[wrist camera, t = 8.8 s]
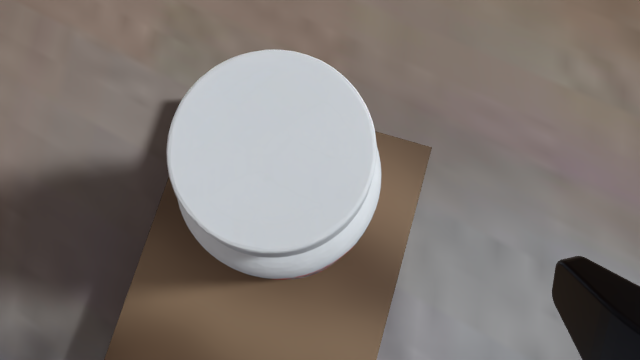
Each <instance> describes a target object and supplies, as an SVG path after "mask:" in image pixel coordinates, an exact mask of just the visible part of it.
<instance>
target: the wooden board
mask: <svg viewBox="0 0 640 360" xmlns="http://www.w3.org/2000/svg"><path fill="white" fill-rule="evenodd" d="M375 135H376V143H377V148H378V152H379V157H380V162H381V189H380V195H379V199H378V203H377V206H376V209H375V212H374V214H373V217H372V219H371V221H370V224H369V225H368V227H367V229H366V230H365V232H364V234H363V235H362V237H361V238H360V240H359V241H358V242H357V243H356V244H355V246H354V247H353V248H352V249H351V250H350V251H348V252H347V253H346V254H345V255H343V256H342V257H341V258H340V259H339V260H337V261H336V262H335V263H333V264H332V265H331V266H329V267H328V268H327V269H325V270H323V271H321V272H319V273H317V274H314V275H312V276H308V277H304V278H299V279H278V280H276V279H266V278H260V277H255V276H250V275H248V274H245V273H242V272H239V271H237V270H235V269H232V268H230V267H229V266H227V265H225V264H224V263H222V262H221V261H219V260H218V259H216V258H215V257H214V256H212V255H211V254H210V253H209V252H208V251H207V250H206V249H205V248H203V246H202V245H201V244H200V243H199V242H198V241H197V240H196V238H195V237H194V235H193V234H192V233H191V231H190V230H189V228H188V226H187V224H186V222H185V220H184V218H183V216H182V213H181V210H180V207H179V204H178V200H177V197H176V195H175V192H174V190H173V187H172V184H171V181H170V177H169V178H168V180H167V183H166V186H165V189H164V192H163V195H162V197H161V200H160V203H159V206H158V209H157V212H156V214H155V217H154V220H153V223H152V226H151V229H150V231H149V234H148V237H147V240H146V243H145V246H144V248H143V251H142V254H141V257H140V260H139V263H138V265H137V268H136V271H135V274H134V277H133V280H132V282H131V285H130V288H129V291H128V294H127V297H126V299H125V302H124V305H123V308H122V311H121V314H120V316H119V319H118V322H117V325H116V328H115V331H114V333H113V336H112V339H111V342H110V345H109V348H108V350H107V353H106V356H105V359H104V360H376V359H377V355H378V351H379V347H380V343H381V340H382V336H383V332H384V328H385V324H386V321H387V317H388V313H389V309H390V305H391V301H392V298H393V294H394V290H395V286H396V282H397V278H398V275H399V271H400V267H401V263H402V259H403V256H404V252H405V248H406V244H407V240H408V236H409V233H410V229H411V225H412V221H413V217H414V214H415V210H416V206H417V202H418V198H419V194H420V191H421V187H422V183H423V179H424V175H425V171H426V168H427V164H428V160H429V156H430V152H431V149H432V147H428V146H425V145H421V144H418V143H414V142H411V141H407V140H404V139H400V138H397V137H393V136H390V135H386V134H383V133H379V132H376V131H375Z"/></svg>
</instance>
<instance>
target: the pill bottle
mask: <svg viewBox="0 0 640 360" xmlns="http://www.w3.org/2000/svg"><path fill="white" fill-rule="evenodd" d="M166 152H167V166H168V173H169V177H170V181H171V184H172V187H173V190H174V192H175V195H176V197H177V200H178V204H179V207H180V210H181V213H182V216H183V218H184V220H185V222H186V224H187V226H188V228H189V230H190V231H191V233H192V234H193V235H194V237H195V238H196V240H197V241H198V242H199V243H200V244H201V245H202V246H203V248H205V249H206V250H207V251H208V252H209V253H210V254H211V255H212V256H214V257H215V258H216V259H218V260H219V261H221V262H222V263H224V264H225V265H227V266H229V267H230V268H232V269H235V270H237V271H239V272H242V273H245V274H248V275H250V276H255V277H260V278H266V279H276V280H278V279H299V278H304V277H308V276H312V275H314V274H317V273H319V272H321V271H323V270H325V269H327V268H328V267H329V266H331V265H332V264H333V263H335V262H336V261H337V260H339V259H340V258H341V257H342V256H343V255H345V254H346V253H347V252H348V251H350V250H351V249H352V248H353V247H354V246H355V244H356V243H357V242H358V241H359V240H360V238H361V237H362V235H363V234H364V232H365V230H366V229H367V227H368V225H369V224H370V221H371V219H372V217H373V214H374V212H375V209H376V206H377V203H378V199H379V195H380V189H381V162H380V157H379V152H378V148H377V143H376V135H375V129H374V125H373V121H372V119H371V116H370V113H369V111H368V108H367V106H366V104H365V103H364V101H363V99H362V98H361V96H360V94H359V93H358V91H357V90H356V89H355V88H354V86H353V85H352V84H351V83H350V82H349V81H348V80H347V79H346V78H345V77H344V76H343V75H342V74H341V73H340V72H338V71H337V70H336V69H335V68H333V67H331V66H330V65H328V64H326V63H325V62H323V61H321V60H319V59H316V58H314V57H311V56H309V55H306V54H302V53H298V52H295V51H287V50H263V51H254V52H249V53H246V54H242V55H239V56H236V57H232V58H230V59H228V60H226V61H224V62H222V63H221V64H219V65H217V66H215V67H213V68H212V69H211V70H209V71H208V72H207V73H205V74H204V75H203V76H202V77H201V78H200V79H199V80H198V81H196V82H195V84H194V85H193V86H192V87H191V88H190V89H189V90H188V92H187V93H186V94H185V96H184V97H183V99H182V101H181V102H180V104H179V106H178V108H177V110H176V112H175V114H174V117H173V119H172V122H171V126H170V130H169V134H168V140H167V150H166Z"/></svg>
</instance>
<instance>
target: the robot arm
mask: <svg viewBox="0 0 640 360" xmlns="http://www.w3.org/2000/svg"><path fill="white" fill-rule="evenodd" d="M552 297H553V301H554V304H555V306H556V308H557V310H558V312H559V314H560V316H561V318H562V320H563V322H564V324H565V326H566V328H567V330H568V332H569V334H570V336H571V338H572V340H573V342H574V344H575V346H576V348H577V350H578V352H579V354H580V356H581V358H582V360H640V286H638V285H636V284H634V283H632V282H630V281H628V280H626V279H625V278H623V277H621V276H619V275H617V274H615V273H613V272H611V271H609V270H608V269H606V268H604V267H602V266H600V265H598V264H596V263H594V262H592V261H590V260H589V259H587V258H585V257H581V256H575V257H571V258H567V259H563V260H560V261H558V263H557V264H556V268H555V274H554V281H553V288H552Z"/></svg>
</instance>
